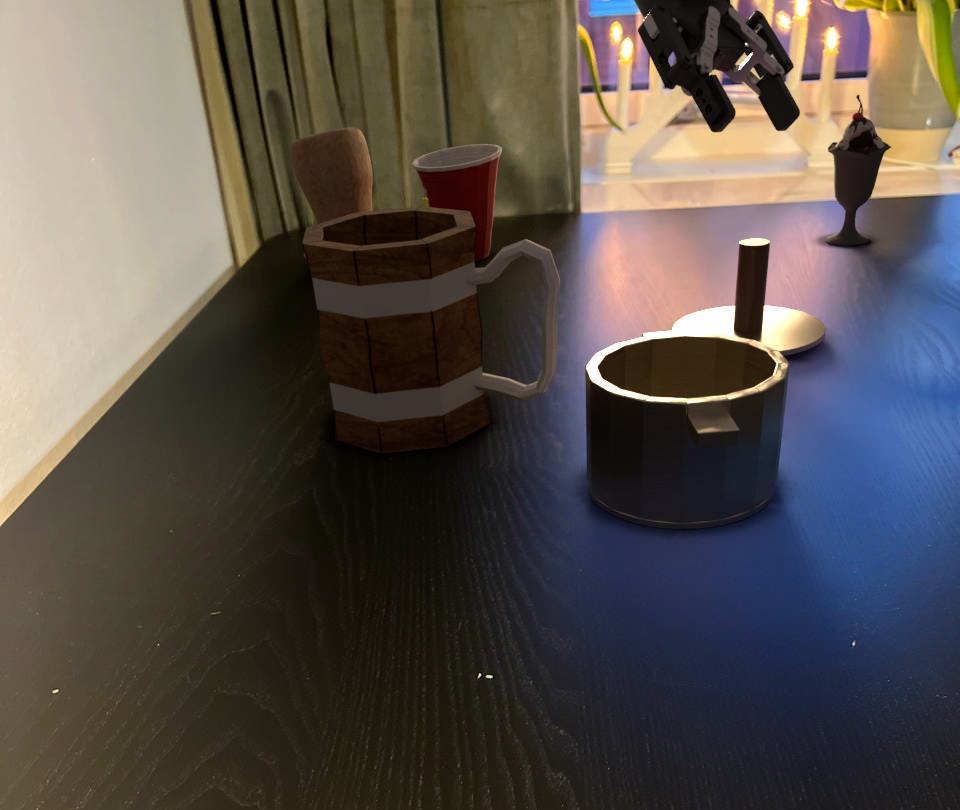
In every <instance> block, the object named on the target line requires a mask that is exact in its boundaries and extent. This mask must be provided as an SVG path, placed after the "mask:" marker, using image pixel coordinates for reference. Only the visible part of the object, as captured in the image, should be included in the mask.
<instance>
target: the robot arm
mask: <svg viewBox="0 0 960 810" xmlns="http://www.w3.org/2000/svg"><path fill="white" fill-rule="evenodd" d="M633 1H634V3H635V5H636V7H637V9H638V10H639V13H640V14H641V16H642V17H643V21H642V22H641V23H640V25H639V27H638V28H637V33H638V35H639V37H640V39H641V41H642V44H643V45H644V47H645V49H646V51H647V53H648V55H649V57H650V59H651V61H652V63H653V65H654V67H655V69H656V71H657V73H658V75H659V78H660V79H661V81H662V84H663V85H664V86H665V87H666V88H667V89H668V90H674V89H675V88H676V87H677V86H678V87H680V90H681V91H682V93H683V94H684V95H686V96H687V97H691V98H692V99H693V101H694V103H695V105H696V106H697V108H698V110H699V112H700V114H701V116H702V117H703V119H704V121H705V122H706V124H707V126H708V128H709V130H710V131H711V132H712V133H722V132H723V131H724V130H725V129H726V128H727V127H728V126H729V125H730V124H731V122H733V120H735V117H736V114H737V112H736V108H735V107H734V104H733V102H732V101H731V99H730V97H729V95H728V94H727V92H726V90H725V88H724V86H723V84H722V83H721V81H720V80H719V77H718V75H717V74H712V72H713V71H719V72H722V73H724V74H725V75H726V76H727V77H728V78H729V79H730V80H732V81H733V82H734V83H736V84H740V83H744V84H745V85H746V86H747V87H749V88H750V89H751V90H752V91H753V92H754V93H755V94H756V95H758V96H757V99H758V100H759V103H760V104H761V106H762V107H763V110H764V111H765V113H766V115H767V116H768V118H769V120H770V122H771V123H772V125H773V127H774V129H775V130H776V131H777V132H785V131H787V130H788V129H789V128H790V127H791V126H792V125H793V124H794V123H795V122H796V121H797V120H798V119H799V117H800V115H801V110H800V108H799V106H798V104H797V102H796V99H794V97H793V95H792V92H790V89H789V88H788V86H787V84H786V82H785V80H784V79H785V78H786V77H787V75H789V73H790V72H791V71H792V70H793V69H794V68H795V66H794V65H795V64H794V63H793V61H792V59H791V58H790V56H789V55H788V53H787V51H786V50H785V48H784V46H783V44H782V43H781V42H780V39H779V38H778V36H777V35H776V33H775V31H774V29H773V28H772V26H771V24H770V22H769V21H768V20H767V18H766V16H765V15H764V13H763V12H761V11H760V10H757V9H755V11H754V12H753V13H752V14H751V15H750V17H748V18H744V16H743V15H742V14H741V13H740V12H739V11H737V9H736V8H735V7H734V6H733V4H732V3H731V0H633ZM672 54H674V56H675V58H676V60H675V61H674V62H673V64H672V65H671V64H670V61H669V58H670V56H672ZM744 54H745V56H746V58H745V59H744V61H743V62H742V63H740V64H737V63H738V62H739V60H740V59H741V58H742V57H743V56H744ZM752 69H753V70H754V72H756V74H757V75H755V74H754V72H752V71H751V70H752Z"/></svg>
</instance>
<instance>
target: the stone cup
mask: <svg viewBox="0 0 960 810" xmlns="http://www.w3.org/2000/svg"><path fill="white" fill-rule="evenodd" d="M289 154H290V158H291V164H292V168H293V172H294V175H295V178H296V181H297V183H298V185H299V187H300V189H301V191H302V193H303V194H304V196H305V198H306V201H307V204H308V205H309V208H310V209H311V211H312V214H313V216H314V218H315V221H316V223H317V224H320V223H323V222H326V221H330V220H333V219H336V218H339V217H343V216H346V215H349V214H352V213H357V212H367V211H373V182H374V176H373V167H372V162H371V156H370V151H369V147H368V143H367V140H366V138H365V136H364V134H363V131H362V130H361V129H360V128H358V127H342V128H336V129H331V130H327V131H322V132H317V133H316V134H311V135H307V136H304V137H301V138H298V139H294V140H292V141H291V142H290V144H289ZM303 257H304V259H305V260H307V259H306V255H305V252H304V253H303Z"/></svg>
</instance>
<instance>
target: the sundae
mask: <svg viewBox="0 0 960 810" xmlns="http://www.w3.org/2000/svg"><path fill="white" fill-rule="evenodd" d="M855 98H856V99H857V101H858V103H859V108H858V111H857V112H854V114H853V115H852V116H851V122H849V123H848V125H847V126H846V127H845V128H844V131H843V133H842V137H841V139H840V140H838V141H833V142H832V143H831V144H830V145H829V146H828V147H827V152H828V153H830V154H832V156H833V187H834V188H833V189H834V198H835V200H836V201H837V202H838V204H839V205H840V206H841V207H842V208H843V209H844V211H845V212H844V219H843V224H842V226H841V229H840V230H839V231H838V233H835V234H832V235H828V236H826V238H825V239H824V241H825V242H826V243H827V244H830V245H834V246H845V247H846V246H847V247H849V246H859V245H864V244H866V243H867V244H868V242H869V241H870V240H871V239H870V237H869V236H867V235H865V234H861V233H859V231H858V230H857V227H856V217H857V211H858V210H859V208H861V206H864V204H866V203H867V202H868V201H869V199H870V198H872V195H873V191H874V188H875V186H876V182H877V179H878V175H879V171H880V167H881V164H882V161H883V158H884V154H885V153H886V152H887V151H889V150H890V149H891V148H892V145H890V144H889V143H887V142H885V141H884V140H883V139H882V138H881V137H880V136H879V134H877V133H878V132H877V131H876V126H875V124H874V123H873V121H872V120H871V119H869V118H866V117H865V116H864V107H863V104H862V103H863V102H862V101H861V98H860V94H857V95H856V97H855Z"/></svg>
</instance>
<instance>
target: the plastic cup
mask: <svg viewBox="0 0 960 810" xmlns="http://www.w3.org/2000/svg"><path fill="white" fill-rule="evenodd" d="M502 151H503V147H501V146H500V145H498V144H491V143H480V144H479V143H477V144H466V145H459V146H452V147H448V148H444V149H439V150H435V151H432V152H430V153H426V154H423V155H421V156H419V157H417V158H415V159H414V160H413V162H412V163H411V166H412V168H413V169H415V171H416V173H417V174H418V177H419V180H420V181H421V184H422V188H423V189H424V191H425V190H427V192H426V198H428V207H433V208H442V209H452V210H461V211H470V213H471V215H472V218H473V221H474V223H475V226H476V233H475V260H474V262H478V261H481V260H485V259H486V258H488V257H489V256H490V251H491V248H492V233H493V226H494V217H495V216H494V215H495V204H496V203H495V202H496V188H497V187H496V186H497V179H498V168H499V161H500V156H501V155H502Z"/></svg>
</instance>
